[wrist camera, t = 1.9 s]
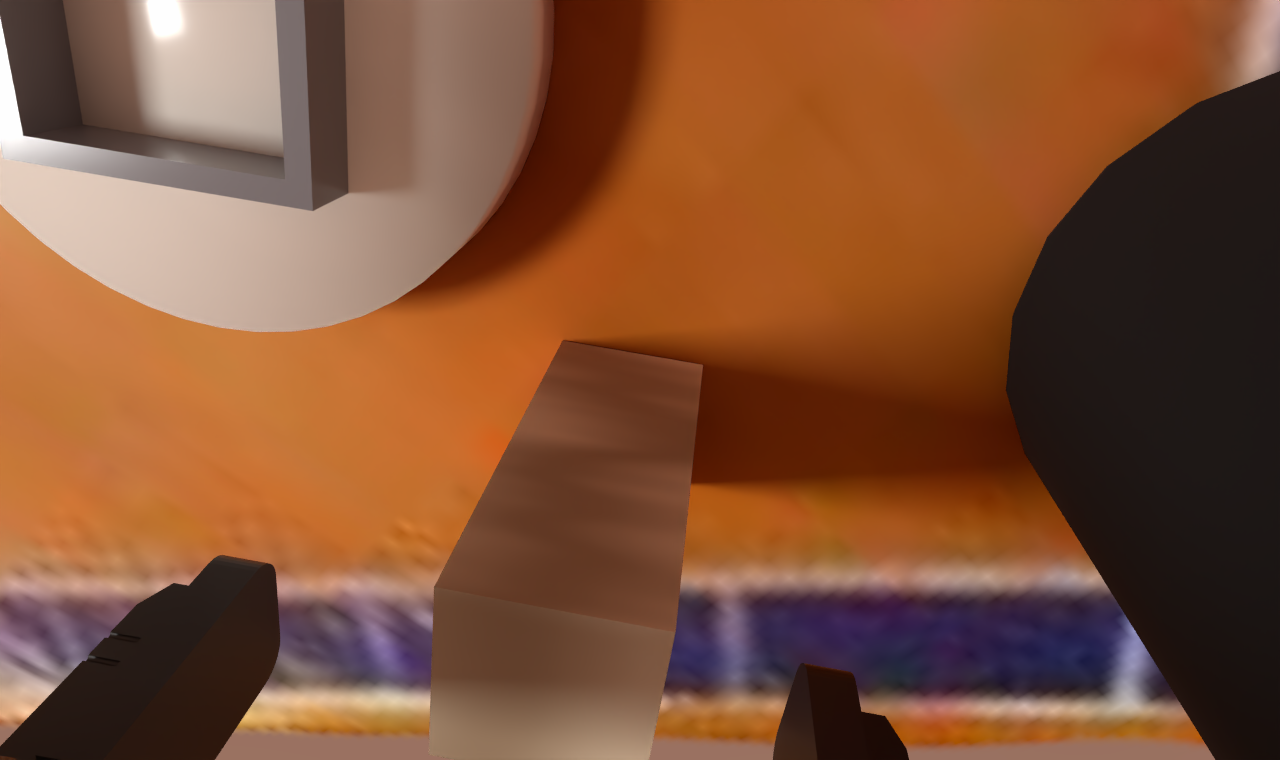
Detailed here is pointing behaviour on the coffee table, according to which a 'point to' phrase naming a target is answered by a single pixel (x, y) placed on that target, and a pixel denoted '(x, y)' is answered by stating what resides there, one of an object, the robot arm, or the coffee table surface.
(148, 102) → the candle dish
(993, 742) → the coffee table surface
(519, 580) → the wood grain block
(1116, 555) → the coffee jar
